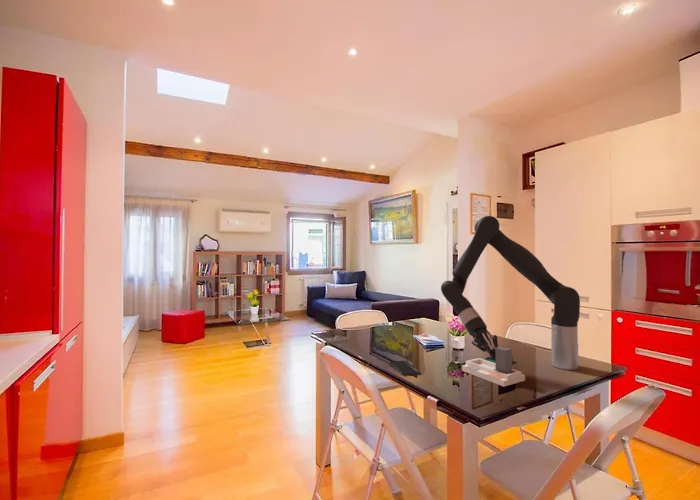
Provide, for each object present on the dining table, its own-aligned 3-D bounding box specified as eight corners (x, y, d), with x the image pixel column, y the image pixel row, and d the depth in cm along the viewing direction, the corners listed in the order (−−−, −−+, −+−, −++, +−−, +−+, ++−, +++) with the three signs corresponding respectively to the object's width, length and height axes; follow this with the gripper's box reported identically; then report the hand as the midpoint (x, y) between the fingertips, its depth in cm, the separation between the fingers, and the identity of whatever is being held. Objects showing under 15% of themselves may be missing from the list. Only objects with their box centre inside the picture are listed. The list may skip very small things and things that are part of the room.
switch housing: (482, 365, 142) (482, 357, 142) (525, 380, 125) (525, 371, 125) (461, 370, 136) (461, 361, 136) (503, 386, 120) (503, 376, 120)
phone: (405, 360, 147) (421, 372, 132) (405, 363, 147) (421, 375, 132) (387, 362, 145) (402, 373, 130) (387, 364, 145) (402, 376, 130)
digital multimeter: (513, 362, 148) (513, 355, 148) (498, 370, 138) (498, 362, 138) (497, 358, 154) (496, 351, 154) (481, 365, 144) (481, 358, 144)
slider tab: (502, 370, 130) (502, 346, 130) (514, 374, 125) (513, 349, 125) (493, 372, 127) (493, 347, 127) (505, 376, 123) (505, 351, 123)
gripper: (465, 317, 134) (492, 357, 123) (488, 314, 140) (515, 352, 130) (455, 328, 139) (480, 367, 128) (478, 325, 145) (503, 362, 134)
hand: (497, 359), depth 129 cm, fingers closed
